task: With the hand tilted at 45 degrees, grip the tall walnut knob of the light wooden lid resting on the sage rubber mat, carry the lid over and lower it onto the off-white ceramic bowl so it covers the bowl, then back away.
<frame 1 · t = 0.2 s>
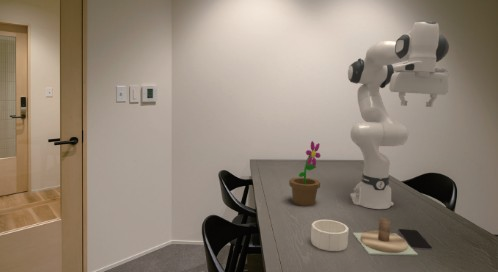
hand: (416, 106, 121), 48 cm above the table, tool pointing down, fingers open, 8 cm apart
smartphone: (414, 241, 121), on the table
flowerpot: (303, 202, 159), on the table
bowl: (328, 242, 116), on the table
lid: (383, 242, 117), resting on mat
mat: (383, 243, 117), on the table
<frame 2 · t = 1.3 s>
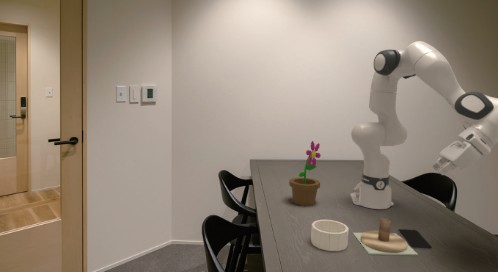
hand: (436, 170, 110), 27 cm above the table, tool tilted 45°, fingers open, 8 cm apart
nothing on the table moved.
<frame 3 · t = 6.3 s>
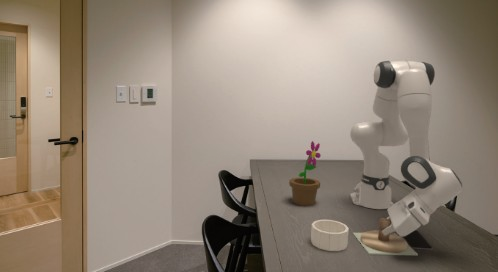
hand: (382, 230, 116), 5 cm above the table, tool tilted 45°, fingers closed on lid, 4 cm apart
lid: (383, 242, 117), resting on mat, touching gripper
everything else where it was.
when the fingers open (12 cm above the table, at t = 11.0 s): lid drops 1 cm, resting on bowl.
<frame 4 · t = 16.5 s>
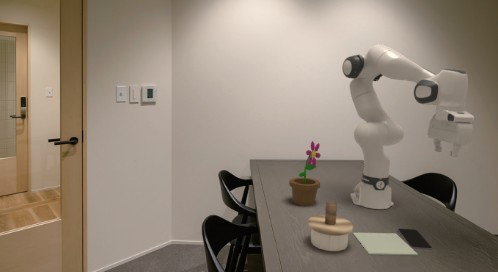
hand: (445, 153, 120), 31 cm above the table, tool pointing down, fingers open, 8 cm apart
lid: (330, 226, 115), point 6 cm above the table, touching bowl
everything else where it was.
at the end: lid 0.1 cm off-centre on the bowl, point 6.0 cm above the bowl's base; lid tilted 0°; the gripper is holding nothing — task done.
